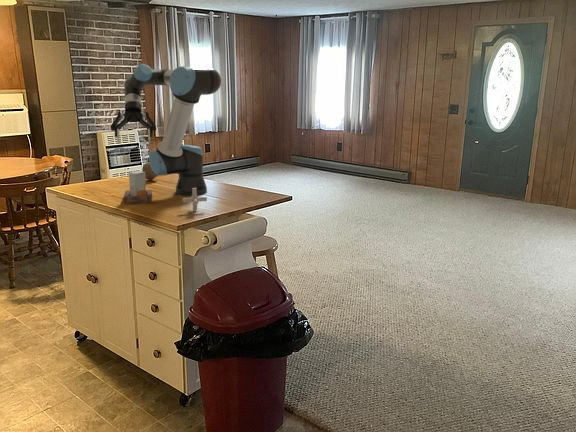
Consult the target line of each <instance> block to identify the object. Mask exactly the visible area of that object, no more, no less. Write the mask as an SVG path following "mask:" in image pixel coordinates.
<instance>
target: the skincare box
mask: <svg viewBox="0 0 576 432" xmlns="http://www.w3.org/2000/svg"><path fill="white" fill-rule="evenodd" d="M128 179H129V191H130V196H146V190H147V186H146V185H147V184H146V183H147V182H146V180H147V179H145V172H142V171H141V170H138V171H132V172H128Z"/></svg>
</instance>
